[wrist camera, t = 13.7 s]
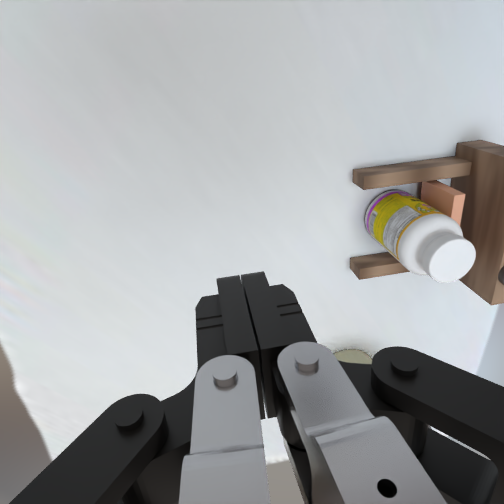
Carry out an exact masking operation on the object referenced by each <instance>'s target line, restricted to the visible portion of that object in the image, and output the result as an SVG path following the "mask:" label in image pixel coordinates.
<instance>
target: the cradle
mask: <svg viewBox="0 0 504 504" xmlns="http://www.w3.org/2000/svg"><path fill="white" fill-rule="evenodd" d="M446 178H452V180H451V186H450V187H452V188H454V189H456V190H458V191H460V192H462V193H464V194H465V200H464V205H463V211H462V217H461V223H460V228H461V230H462V233H463V237H464V238H465V239H466V240H468V241H469V242H471V243H472V244H473V246H474V248H475V252H476V257H475V261H474V264H473V266H472V267H471V269H470V270H469V271H468V272H467V273H466V274H465V275H464V276H463V277H462V278H460V279H459V280H460V281H461V282H462V283H464V284H465V285H466V286H467V287H469V288H470V289H471V290H472V291H474V292H475V293H476V294H477V295H479V296H480V297H481V298H483V299H484V300H485V301H486V302H488V303H489V304H490V305H496V304H501V303H504V146H502V145H498V144H494V143H490V142H487V141H483V140H477V141H470V142H462V143H457V147H456V153H455V156H452V157H444V158H437V159H429V160H422V161H414V162H407V163H399V164H391V165H384V166H376V167H369V168H361V169H354V170H353V183H355V184H356V185H357V186H359V187H360V188H362V189H363V190H366V189H373V188H381V187H388V186H395V185H402V184H410V183H417V182H424V181H431V180H439V179H446ZM350 269H351V270H352V271H353V272H354V274H355V275H356V276H357V277H358V279H359V280H360V279H367V278H373V277H379V276H385V275H391V274H397V273H404V272H410V271H409V270H407V269H406V268H405V267H404V266H403V265H402V264H401V263H400V262H399V261H398V260H397V259H396V258H395V257H394V256H392V255H391V254H390V253H389V252H385V253H379V254H372V255H366V256H359V257H353V258H350Z"/></svg>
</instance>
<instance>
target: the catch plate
mask: <svg viewBox="0 0 504 504" xmlns="http://www.w3.org/2000/svg"><path fill="white" fill-rule="evenodd" d="M420 200H421V201H423V202H425V203H426V204H428V205H430V206H431V207H433V208H435V209H437V210H438V211H440V212H442V213H443V214H445V215H447V216H449V217H450V218H452V219H453V220H455V221H456V222H457V223H458V225H459V226H460V223H461V217H462V211H463V205H464V200H465V194H464V193H462V192H460V191H458V190H456V189H454V188H452V187H449V186H447V185H445V184H443V183H441V182H439V181H437V180H431V181H424V182H422V189H421V197H420Z"/></svg>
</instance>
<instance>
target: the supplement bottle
mask: <svg viewBox="0 0 504 504" xmlns="http://www.w3.org/2000/svg"><path fill="white" fill-rule="evenodd" d="M365 225H366V228H367V231H368V232H369V234H370V235H371V236H372V237H373V238H374V239H375V240H376V241H377V242H378V243H379V244H380V245H382V246H383V247H384V248H385V249H386V250H387V251H388V252H389V253H390V254H391V255H392V256H394V257H395V258H396V259H397V260H398V261H399V262H400V263H401V264H402V265H403V266H404V267H405V268H406V269H407V270H409V271H410V272H412V273H415V274H418V275H429V276H430V277H431V278H433V279H434V280H435V281H437V282H440V283H450V282H454V281H456V280H458V279H460V278H462V277H463V276H464V275H465V274H466V273H467V272H468V271H469V270H470V269H471V267H472V266H473V264H474V261H475V257H476V252H475V248H474V246H473V244H472V243H471V242H469V241H468V240H466V239H465V238H464V237H463V233H462V230H461V228H460V226H459V225H458V223H457V222H456V221H455V220H453V219H452V218H450V217H449V216H447V215H445V214H443V213H442V212H440V211H438V210H437V209H435V208H433V207H431V206H430V205H428V204H426V203H425V202H423V201H421V200H419V199H418V198H416V197H414V196H412V195H411V194H409V193H407V192H404V191H400V190H392V191H388V192H385V193H383V194H381V195H379V196H378V197H377V198H376V199H375V200H374V201H373V202H372V203H371V204H370V206H369V208H368V210H367V212H366V216H365Z"/></svg>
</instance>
